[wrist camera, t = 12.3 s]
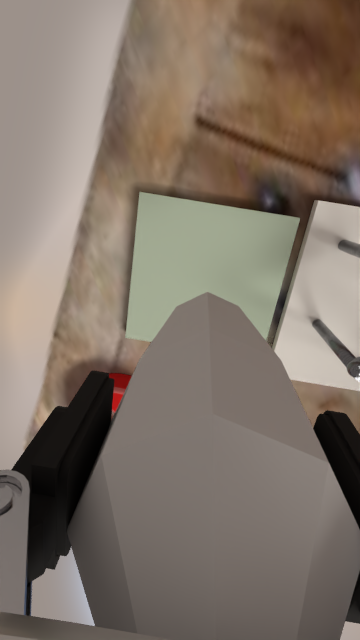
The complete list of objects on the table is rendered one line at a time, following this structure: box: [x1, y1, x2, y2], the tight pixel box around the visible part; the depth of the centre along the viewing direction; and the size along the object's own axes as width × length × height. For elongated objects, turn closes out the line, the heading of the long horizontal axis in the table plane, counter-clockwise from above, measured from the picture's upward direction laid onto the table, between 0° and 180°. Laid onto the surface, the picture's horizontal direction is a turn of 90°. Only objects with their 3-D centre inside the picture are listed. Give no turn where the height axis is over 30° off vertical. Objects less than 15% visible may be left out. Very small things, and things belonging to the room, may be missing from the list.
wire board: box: [272, 200, 360, 391], centre depth 28 cm, size 12×16×1 cm
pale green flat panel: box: [125, 192, 300, 342], centre depth 29 cm, size 13×13×1 cm
